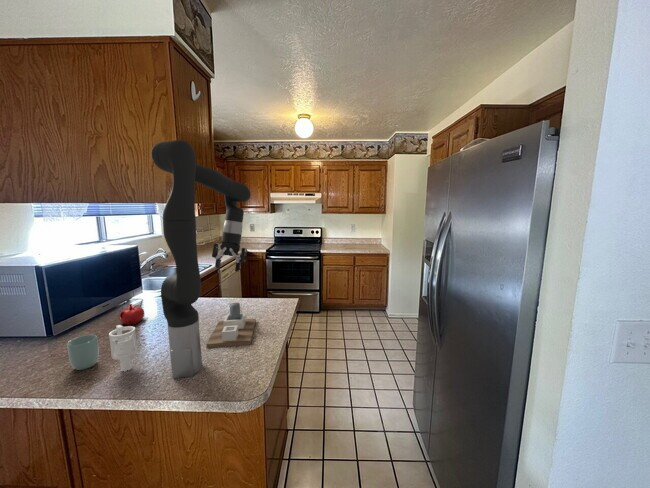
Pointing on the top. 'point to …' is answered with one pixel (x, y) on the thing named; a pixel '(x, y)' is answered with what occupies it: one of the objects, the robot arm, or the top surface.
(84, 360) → the cup
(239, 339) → the board
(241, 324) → the socket fittings
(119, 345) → the white tall rounded piece
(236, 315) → the capsule
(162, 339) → the top surface
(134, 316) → the pomegranate
